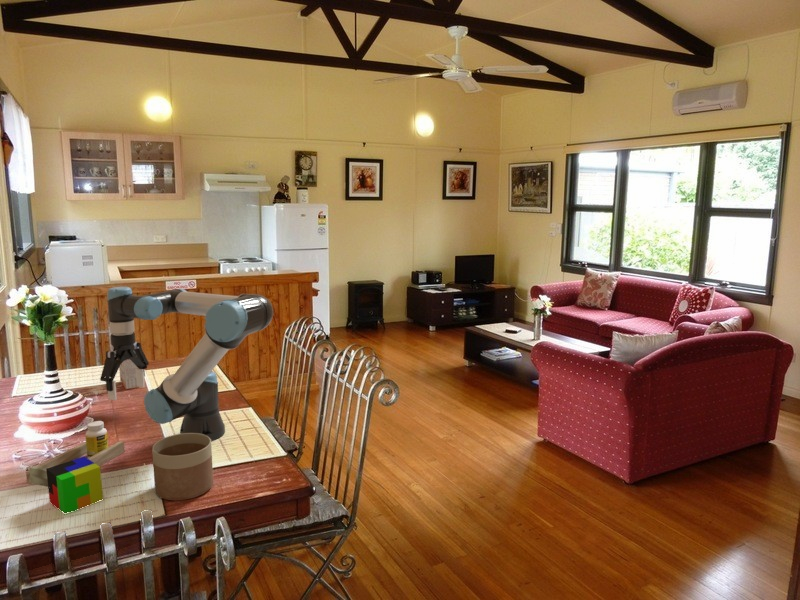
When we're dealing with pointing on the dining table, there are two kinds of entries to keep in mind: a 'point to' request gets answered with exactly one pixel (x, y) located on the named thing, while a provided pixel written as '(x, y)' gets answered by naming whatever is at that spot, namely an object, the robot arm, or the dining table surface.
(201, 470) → the planter
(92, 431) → the pill bottle
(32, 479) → the guide channel
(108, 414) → the dining table surface
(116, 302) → the robot arm
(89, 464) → the puzzle toy
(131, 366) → the cracker box
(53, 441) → the dining table surface
